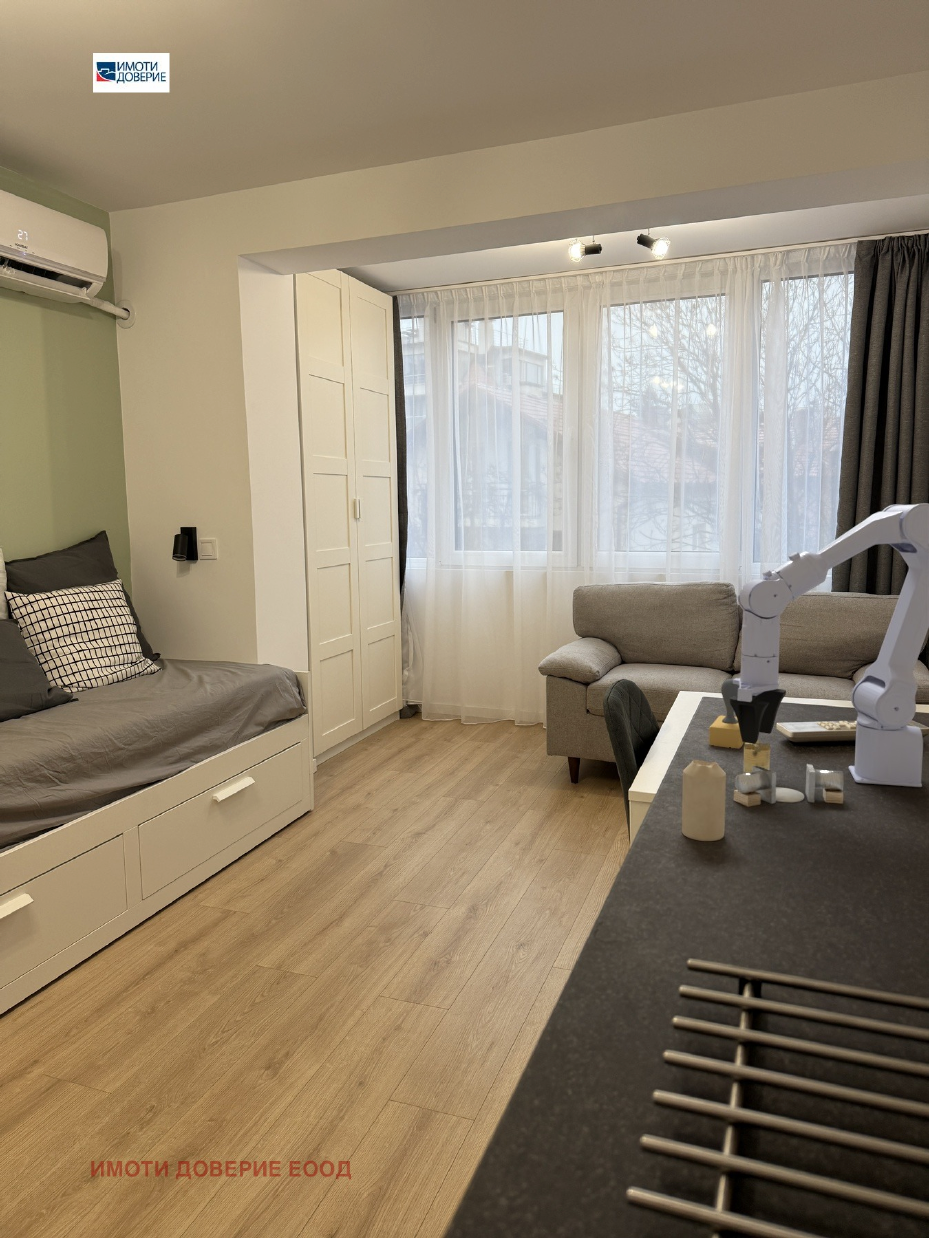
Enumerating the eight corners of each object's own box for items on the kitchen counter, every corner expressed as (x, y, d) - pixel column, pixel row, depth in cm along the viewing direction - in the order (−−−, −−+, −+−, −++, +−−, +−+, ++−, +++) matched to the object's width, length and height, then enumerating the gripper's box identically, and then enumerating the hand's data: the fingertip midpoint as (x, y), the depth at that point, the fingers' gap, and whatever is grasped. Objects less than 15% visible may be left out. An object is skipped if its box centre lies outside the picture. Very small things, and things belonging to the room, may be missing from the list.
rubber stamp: (740, 749, 152) (742, 685, 151) (708, 745, 155) (710, 682, 153) (749, 736, 161) (750, 675, 160) (718, 733, 164) (719, 673, 162)
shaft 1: (756, 794, 127) (757, 765, 126) (775, 802, 123) (776, 772, 123) (731, 799, 125) (732, 769, 124) (750, 807, 121) (751, 777, 121)
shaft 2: (808, 801, 124) (809, 771, 123) (805, 793, 127) (806, 764, 127) (843, 804, 122) (844, 774, 122) (839, 795, 126) (840, 766, 125)
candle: (726, 829, 113) (728, 758, 112) (721, 844, 108) (723, 769, 107) (685, 823, 115) (687, 754, 114) (678, 837, 110) (679, 764, 109)
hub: (768, 775, 136) (769, 741, 136) (769, 783, 133) (771, 747, 132) (742, 773, 137) (743, 739, 137) (743, 781, 134) (744, 746, 133)
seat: (802, 791, 128) (802, 789, 128) (806, 803, 123) (806, 801, 123) (761, 787, 130) (761, 786, 130) (763, 800, 124) (763, 798, 124)
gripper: (749, 646, 141) (746, 724, 142) (719, 658, 129) (716, 743, 131) (792, 650, 137) (789, 730, 138) (765, 662, 125) (762, 750, 127)
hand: (756, 737), depth 134 cm, fingers open, 7 cm apart
